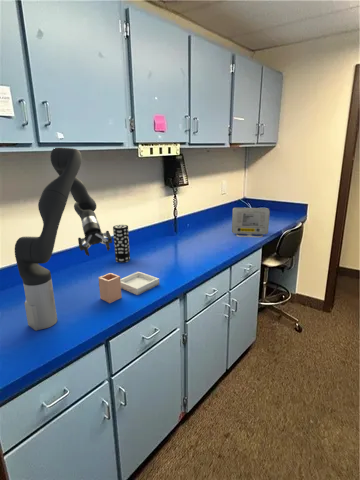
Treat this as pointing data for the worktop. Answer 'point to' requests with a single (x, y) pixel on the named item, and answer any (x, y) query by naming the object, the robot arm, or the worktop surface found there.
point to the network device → (250, 221)
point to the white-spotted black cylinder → (121, 243)
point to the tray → (138, 282)
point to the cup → (110, 287)
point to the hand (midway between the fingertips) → (98, 252)
